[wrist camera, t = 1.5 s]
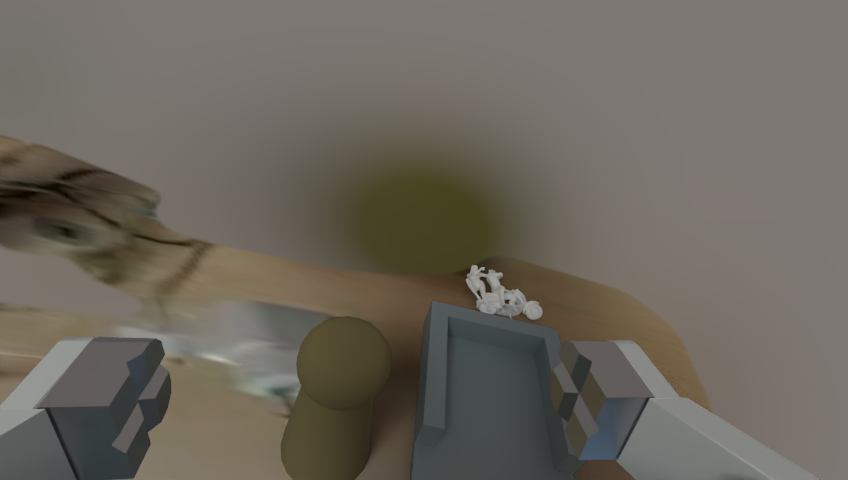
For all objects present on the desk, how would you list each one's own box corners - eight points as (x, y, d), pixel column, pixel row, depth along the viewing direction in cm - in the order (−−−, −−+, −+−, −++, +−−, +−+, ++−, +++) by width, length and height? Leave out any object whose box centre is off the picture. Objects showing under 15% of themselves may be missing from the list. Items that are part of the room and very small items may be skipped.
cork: (354, 394, 33) (380, 293, 26) (383, 471, 29) (422, 374, 23) (272, 417, 30) (279, 310, 24) (292, 507, 26) (307, 406, 20)
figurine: (455, 272, 49) (522, 279, 50) (465, 323, 42) (541, 330, 44) (461, 251, 47) (530, 259, 48) (472, 301, 41) (551, 308, 42)
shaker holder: (407, 507, 28) (418, 486, 26) (424, 322, 40) (432, 300, 39) (582, 539, 29) (604, 521, 27) (544, 349, 42) (557, 329, 40)
